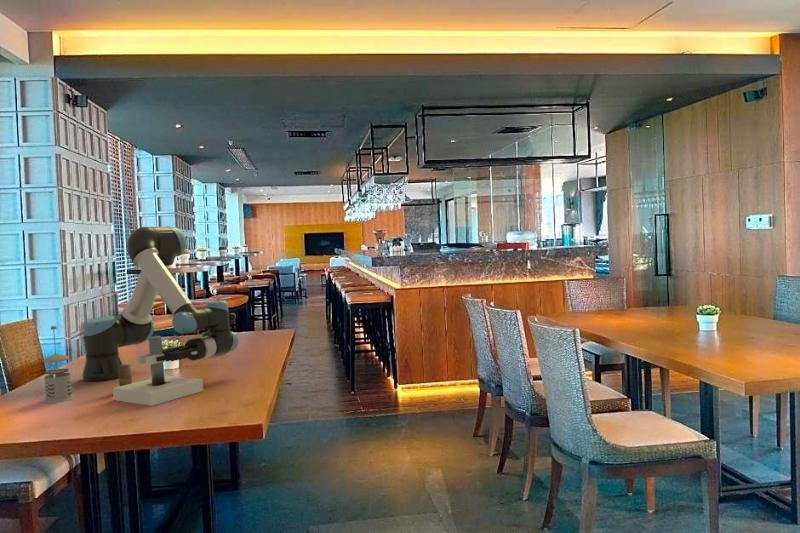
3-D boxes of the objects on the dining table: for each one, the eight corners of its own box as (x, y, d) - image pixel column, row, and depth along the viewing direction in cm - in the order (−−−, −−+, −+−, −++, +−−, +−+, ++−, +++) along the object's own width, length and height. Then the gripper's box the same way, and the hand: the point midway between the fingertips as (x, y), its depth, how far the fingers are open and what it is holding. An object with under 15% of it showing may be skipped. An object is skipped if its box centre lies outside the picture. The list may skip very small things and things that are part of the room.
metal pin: (149, 385, 213) (145, 337, 212) (159, 382, 216) (156, 335, 215) (157, 386, 211) (153, 338, 210) (167, 383, 214) (163, 336, 213)
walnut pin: (117, 391, 223) (115, 366, 222) (127, 389, 226) (126, 364, 226) (124, 392, 221) (123, 366, 220) (134, 390, 224) (133, 364, 224)
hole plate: (113, 400, 211) (112, 388, 211) (165, 386, 227) (164, 375, 227) (151, 405, 200) (150, 393, 200) (203, 390, 217) (202, 379, 216)
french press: (46, 404, 210) (40, 328, 209) (38, 399, 219) (32, 326, 218) (79, 398, 216) (73, 324, 215) (69, 393, 225) (64, 322, 224)
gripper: (217, 359, 224) (159, 373, 204) (184, 357, 233) (127, 370, 213) (215, 338, 223) (157, 350, 204) (183, 337, 233) (125, 348, 213)
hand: (142, 360), depth 208 cm, fingers closed on metal pin, 4 cm apart
